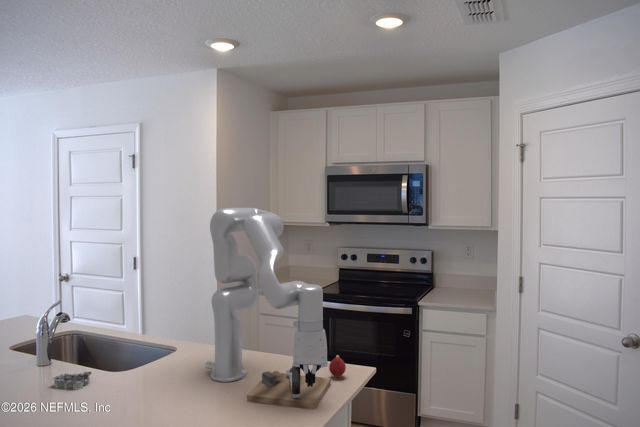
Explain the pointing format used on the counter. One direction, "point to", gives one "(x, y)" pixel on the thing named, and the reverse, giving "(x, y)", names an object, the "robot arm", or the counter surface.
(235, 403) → the counter surface
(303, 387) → the board
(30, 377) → the counter surface
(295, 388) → the lever
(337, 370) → the onion
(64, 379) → the egg carton
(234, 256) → the robot arm
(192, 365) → the counter surface
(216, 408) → the counter surface
